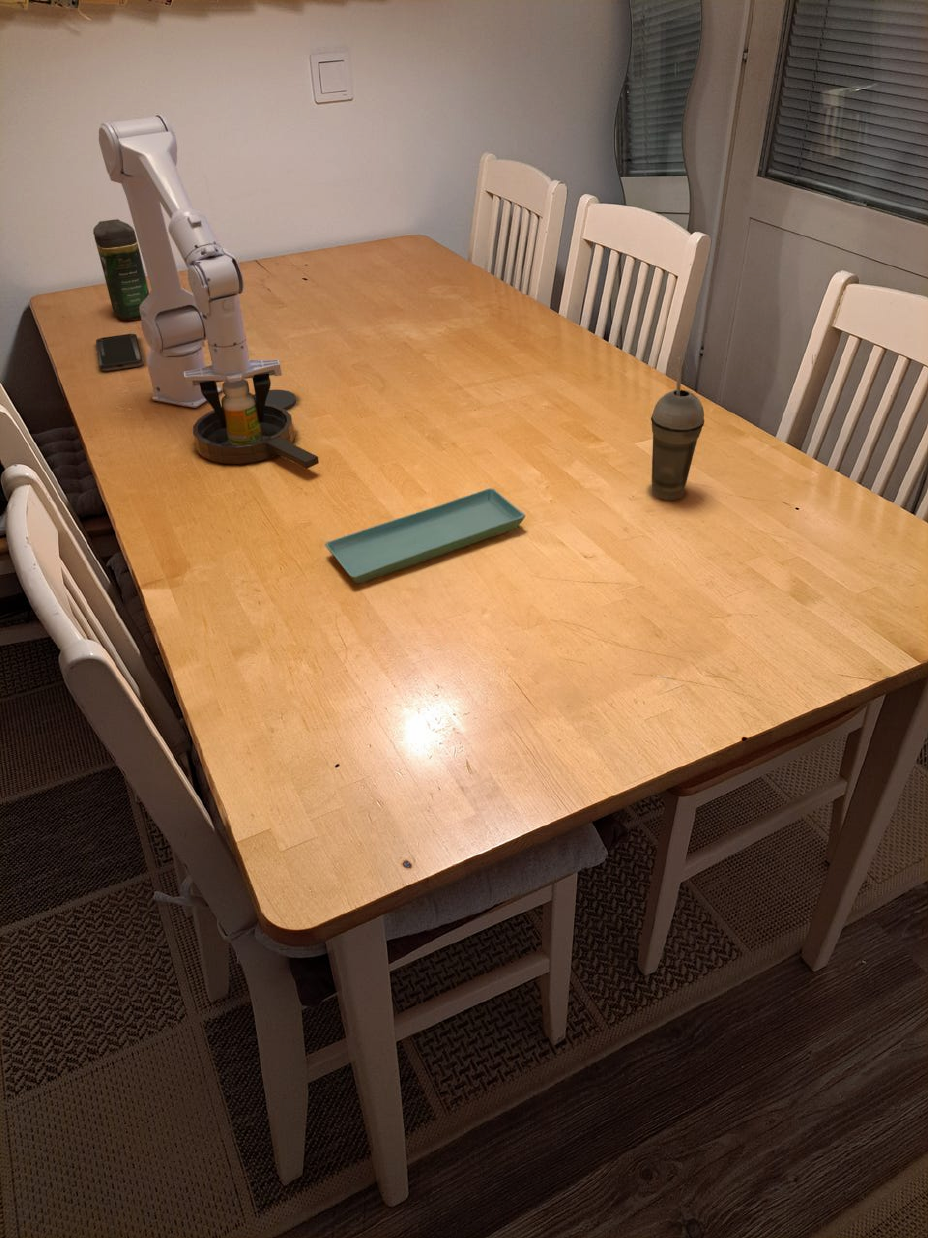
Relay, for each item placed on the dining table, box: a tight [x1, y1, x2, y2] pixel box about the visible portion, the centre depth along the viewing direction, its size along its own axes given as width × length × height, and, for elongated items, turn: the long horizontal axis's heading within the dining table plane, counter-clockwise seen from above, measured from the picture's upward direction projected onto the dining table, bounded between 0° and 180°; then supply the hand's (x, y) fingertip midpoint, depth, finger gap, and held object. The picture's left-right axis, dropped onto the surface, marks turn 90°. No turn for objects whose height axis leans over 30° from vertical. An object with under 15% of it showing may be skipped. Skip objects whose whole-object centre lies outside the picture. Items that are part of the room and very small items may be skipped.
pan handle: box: [266, 437, 320, 470], centre depth 139 cm, size 10×2×1 cm, turn 47°
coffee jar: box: [92, 218, 150, 321], centre depth 188 cm, size 10×8×19 cm
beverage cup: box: [650, 356, 705, 501], centre depth 126 cm, size 7×7×20 cm
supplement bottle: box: [220, 379, 262, 445], centre depth 144 cm, size 5×5×10 cm
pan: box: [192, 403, 295, 465], centre depth 146 cm, size 16×16×3 cm
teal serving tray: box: [324, 487, 526, 585], centre depth 122 cm, size 26×9×2 cm, turn 120°
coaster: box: [253, 389, 297, 411], centre depth 158 cm, size 8×8×1 cm
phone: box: [95, 333, 144, 373], centre depth 176 cm, size 8×1×15 cm
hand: (242, 422), depth 145 cm, fingers closed on supplement bottle, 5 cm apart
